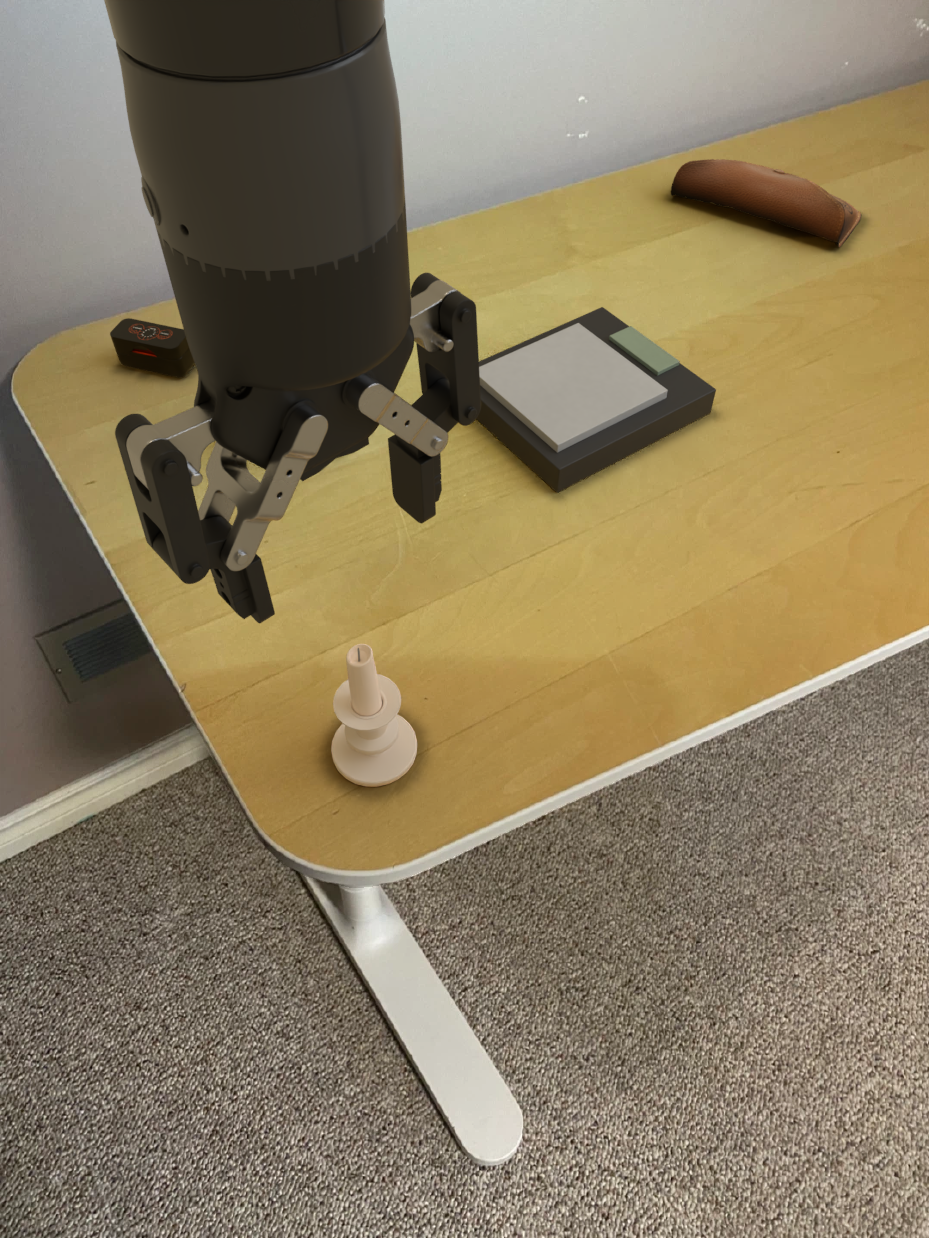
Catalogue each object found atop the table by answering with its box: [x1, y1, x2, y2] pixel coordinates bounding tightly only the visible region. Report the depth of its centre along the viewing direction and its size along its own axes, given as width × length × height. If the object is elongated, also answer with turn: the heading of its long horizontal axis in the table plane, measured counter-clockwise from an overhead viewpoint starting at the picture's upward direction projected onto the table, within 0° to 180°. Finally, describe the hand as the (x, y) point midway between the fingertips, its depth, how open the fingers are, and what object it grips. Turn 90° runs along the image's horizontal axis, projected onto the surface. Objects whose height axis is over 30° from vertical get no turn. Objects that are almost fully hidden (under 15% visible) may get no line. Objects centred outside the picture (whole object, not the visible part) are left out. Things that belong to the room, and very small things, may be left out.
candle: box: [330, 643, 418, 788], centre depth 55 cm, size 5×5×10 cm
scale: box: [476, 306, 717, 493], centre depth 78 cm, size 16×14×3 cm
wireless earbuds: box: [109, 317, 195, 379], centre depth 82 cm, size 5×7×3 cm, turn 71°
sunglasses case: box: [670, 158, 863, 248], centre depth 96 cm, size 18×7×7 cm
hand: (338, 556), depth 41 cm, fingers open, 8 cm apart
